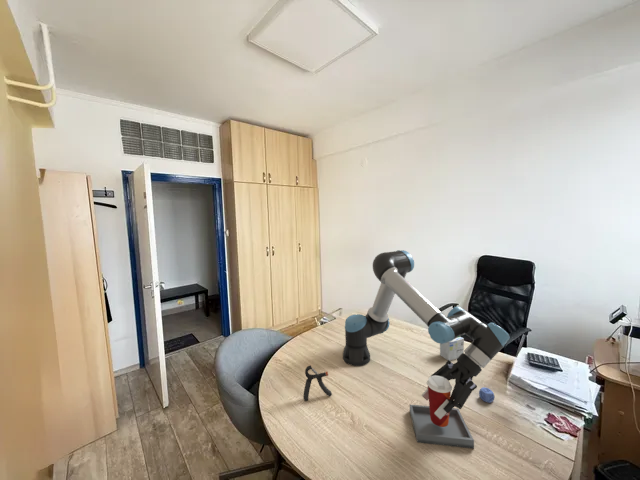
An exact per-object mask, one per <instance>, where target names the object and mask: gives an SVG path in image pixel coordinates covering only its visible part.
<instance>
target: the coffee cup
mask: <svg viewBox="0 0 640 480" xmlns="http://www.w3.org/2000/svg"><path fill="white" fill-rule="evenodd" d="M426 385H427V387H428V394H429V399H428V403H429V405H428V406H429V408H430V418H431V421H432V422H433V423H434V424H435V425H437V426H440V427H446V426H447V425H448V422H449V413H446V414H445V415H444V416H443V417H442V418H441V419H440V418H438V417H437V416H436V415H435V414H434V413H435V411H436V410H437V409H438V408H439V407H440V406H441V405H442V404H443V403H444V402H445V400H446V399H447V400H448V399H450V397H451V394H452V391H453V387H452V384H451V382H450V380H449V381H448V380H447V379H446V378H444V377H442V376H437V375H433V376H431V375H430V376H429V377H428V378H427V380H426Z"/></svg>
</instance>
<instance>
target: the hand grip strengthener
mask: <svg viewBox="0 0 640 480" xmlns="http://www.w3.org/2000/svg"><path fill="white" fill-rule="evenodd" d="M310 370H311V371H312V372H313V374H310V373H309V371H310ZM304 373H305V374H304V375H305V377H306V378H307V379H306V380H305V384H304V389H303V400H304V402H308V401H309V394H310V389H311V385H312V382H313V380H314V379H316V380H317V384H318V385H319V387H320V389H321V391H323V393H325V395H326V396H328V397H329V398H330V397H331V396H332V395H333V393H332V390H330V389H329V388H328V387H327V386H326V385H325V384H324V382H323V378H324V377H328V376H329V372H328V371H324V372H320V373H319V372H318V371H316V370H315V368H313V367H312V365H308V366H307V367H306V368H305V370H304Z"/></svg>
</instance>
